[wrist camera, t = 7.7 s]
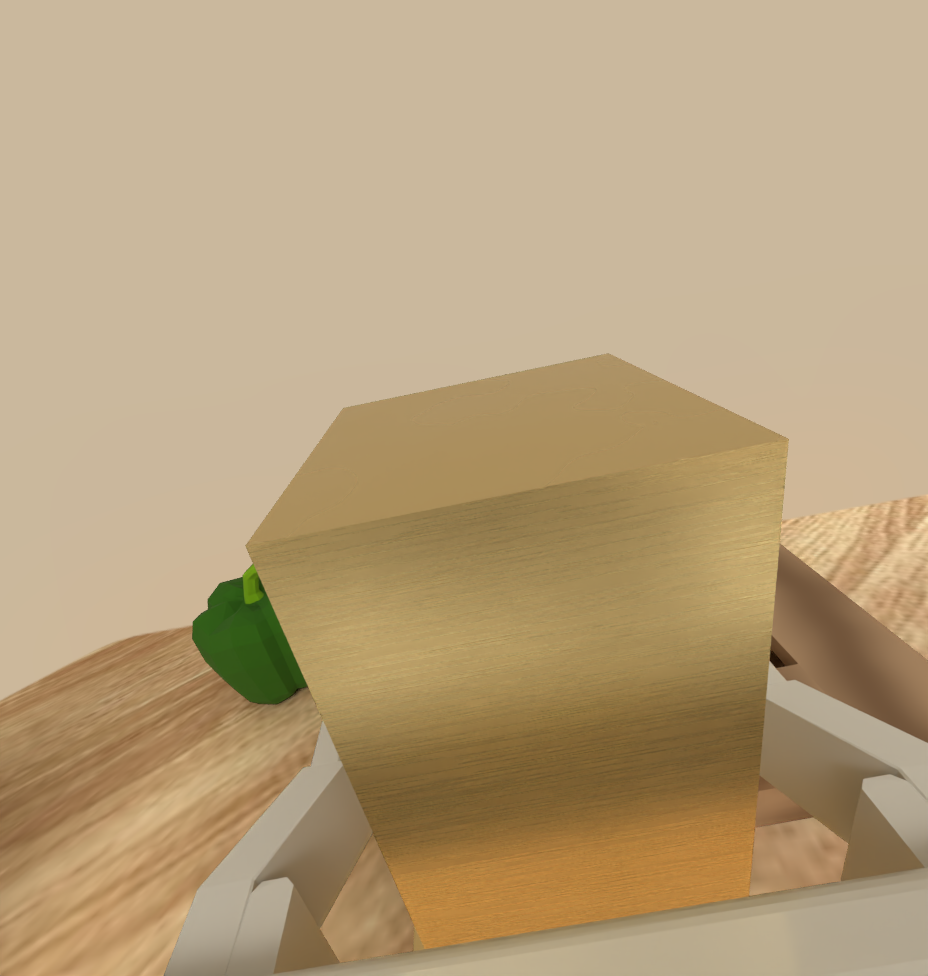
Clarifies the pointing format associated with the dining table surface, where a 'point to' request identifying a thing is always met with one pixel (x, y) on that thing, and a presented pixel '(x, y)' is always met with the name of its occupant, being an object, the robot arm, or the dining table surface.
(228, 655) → the bell pepper
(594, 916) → the brass peg
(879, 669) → the walnut keyhole plate
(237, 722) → the dining table surface
